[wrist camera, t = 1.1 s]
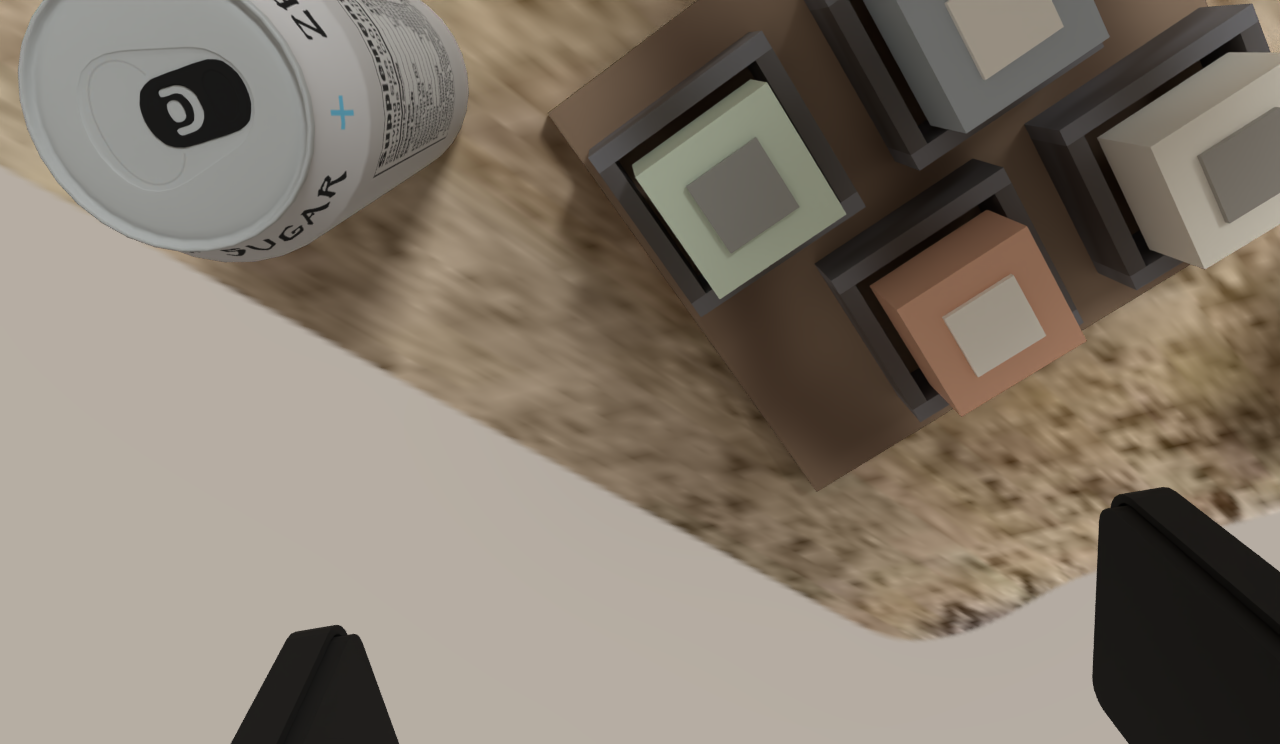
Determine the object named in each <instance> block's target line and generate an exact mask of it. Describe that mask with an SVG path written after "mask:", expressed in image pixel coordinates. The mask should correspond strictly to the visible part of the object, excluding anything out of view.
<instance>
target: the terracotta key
mask: <svg viewBox="0 0 1280 744" xmlns="http://www.w3.org/2000/svg"><path fill="white" fill-rule="evenodd" d="M870 288H871V289H872V291H873V293H874V294H875V296H876V298H877V299H878V301H879V302H880V304H881V306H882V307H883V309H884V311H885V312H886V314H887V315H888V317H889V319H890V320H891V322H892V324H893V325H894V327H895V328H896V330H897V332H898V333H899V335H900V337H901V338H902V340H903V342H904V343H905V345H906V346H907V348H908V350H909V351H910V353H911V355H912V356H913V358H914V359H915V361H916V363H917V364H918V366H919V368H920V369H921V371H922V372H923V374H924V376H925V377H926V379H927V381H928V382H929V384H930V385H931V386H932V387H933V388H934V389H935V390H936V391H937V392H938V393H939V394H940V395H941V396H942V397H943V398H944V399H945V401H946V402H947V403H948V404H949V405H950V406H951V407H952V408H953V409H954V410H955V411H956V412H957V413H958V414H959V415H960V416H961V417H962V416H964V415H965V414H967V413H969V412H970V411H972V410H974V409H975V408H977V407H979V406H980V405H982V404H983V403H985V402H987V401H988V400H990V399H992V398H993V397H995V396H997V395H998V394H1000V393H1002V392H1003V391H1005V390H1007V389H1008V388H1010V387H1012V386H1013V385H1015V384H1017V383H1018V382H1020V381H1021V380H1023V379H1025V378H1026V377H1028V376H1030V375H1031V374H1033V373H1035V372H1036V371H1038V370H1040V369H1041V368H1043V367H1045V366H1046V365H1048V364H1050V363H1051V362H1053V361H1054V360H1056V359H1058V358H1059V357H1061V356H1063V355H1064V354H1066V353H1068V352H1069V351H1071V350H1073V349H1074V348H1076V347H1078V346H1079V345H1081V344H1083V343H1084V342H1086V341H1087V340H1086V338H1085V336H1084V334H1083V332H1082V331H1081V329H1080V327H1079V325H1078V323H1077V321H1076V319H1075V317H1074V315H1073V313H1072V311H1071V309H1070V308H1069V306H1068V304H1067V302H1066V300H1065V298H1064V296H1063V294H1062V292H1061V290H1060V288H1059V286H1058V284H1057V283H1056V281H1055V279H1054V277H1053V275H1052V273H1051V271H1050V269H1049V267H1048V265H1047V263H1046V261H1045V260H1044V258H1043V256H1042V254H1041V252H1040V250H1039V248H1038V246H1037V244H1036V242H1035V240H1034V238H1033V237H1032V235H1031V233H1030V231H1029V229H1028V227H1027V226H1025V225H1023V224H1021V223H1018V222H1016V221H1013V220H1011V219H1009V218H1006V217H1004V216H1001V215H999V214H997V213H994V212H992V211H989V210H985V211H984V212H982V213H981V214H979V215H978V216H976V217H975V218H973V219H971V220H970V221H968V222H967V223H965V224H964V225H962V226H961V227H959V228H958V229H956V230H955V231H953V232H951V233H950V234H948V235H947V236H945V237H944V238H942V239H941V240H939V241H938V242H936V243H935V244H933V245H932V246H930V247H928V248H927V249H925V250H924V251H922V252H921V253H919V254H918V255H916V256H915V257H913V258H912V259H910V260H908V261H907V262H905V263H904V264H902V265H901V266H899V267H898V268H896V269H895V270H893V271H892V272H890V273H889V274H887V275H885V276H884V277H882V278H881V279H879V280H878V281H876V282H875V283H873V284H872V285H870Z"/></svg>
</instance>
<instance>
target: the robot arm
mask: <svg viewBox="0 0 1280 744" xmlns="http://www.w3.org/2000/svg"><path fill="white" fill-rule="evenodd" d="M1092 678H1093V686H1094V691H1095V693H1096V696H1097V698H1098V701H1099V703H1100V705H1101V707H1102V708H1103V710H1104V711H1105V713H1106V714H1107V716H1108V717H1109V718H1110V719H1111V721H1112V722H1113V724H1114V725H1115V726H1116V727H1117V729H1118V730H1119V731H1120V733H1121V734H1122V735H1123V737H1124V738H1125V739H1126V741H1127V742H1128V743H1129V744H1280V572H1279V571H1278V570H1277V569H1275V568H1274V567H1273V566H1272V565H1270V564H1269V563H1268V562H1266V561H1265V560H1264V559H1263V558H1261V557H1260V556H1259V555H1257V554H1256V553H1255V552H1253V551H1252V550H1251V549H1250V548H1248V547H1247V546H1246V545H1244V544H1243V543H1242V542H1240V541H1239V540H1238V539H1237V538H1235V537H1234V536H1233V535H1231V534H1230V533H1229V532H1227V531H1226V530H1225V529H1224V528H1222V527H1221V526H1220V525H1219V524H1217V523H1216V522H1215V521H1213V520H1212V519H1211V518H1209V517H1208V516H1207V515H1206V514H1204V513H1203V512H1202V511H1200V510H1199V509H1198V508H1197V507H1195V506H1194V505H1193V504H1191V503H1190V502H1189V501H1187V500H1186V499H1185V498H1184V497H1182V496H1181V495H1180V494H1178V493H1177V492H1176V491H1174V490H1172V489H1170V488H1166V487H1161V488H1155V489H1149V490H1143V491H1137V492H1131V493H1125V494H1119V495H1117V496H1116V497H1114V499H1113V501H1112V503H1111V508H1108V509H1105V510H1103V511H1102V512H1101V514H1100V519H1099V536H1098V559H1097V582H1096V605H1095V629H1094V652H1093V675H1092ZM231 744H399V742H398V739H397V737H396V734H395V731H394V728H393V726H392V723H391V720H390V718H389V715H388V712H387V709H386V706H385V704H384V701H383V698H382V695H381V693H380V690H379V687H378V685H377V682H376V679H375V676H374V673H373V671H372V668H371V665H370V662H369V660H368V657H367V654H366V651H365V648H364V646H363V643H362V641H361V639H360V637H359V636H358V635H356V634H351V635H347V633H346V631H345V630H344V629H343V627H341V626H339V625H333V626H327V627H321V628H315V629H310V630H304V631H298V632H294V633H292V634H291V635H290V636H289V637H288V638H287V640H286V642H285V644H284V645H283V648H282V649H281V651H280V653H279V655H278V657H277V659H276V660H275V662H274V664H273V666H272V668H271V670H270V671H269V674H268V675H267V677H266V679H265V681H264V683H263V685H262V686H261V688H260V690H259V692H258V694H257V696H256V698H255V699H254V701H253V703H252V705H251V707H250V709H249V711H248V713H247V714H246V716H245V718H244V720H243V722H242V724H241V726H240V728H239V729H238V731H237V733H236V735H235V737H234V739H233V741H232V743H231Z"/></svg>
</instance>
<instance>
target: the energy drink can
mask: <svg viewBox="0 0 1280 744" xmlns="http://www.w3.org/2000/svg"><path fill="white" fill-rule="evenodd" d="M18 80H19V95H20V103H21V107H22V110H23V114H24V118H25V122H26V126H27V129H28V131H29V134H30V136H31V138H32V140H33V142H34V145H35V147H36V149H37V151H38V153H39V155H40V157H41V159H42V160H43V162H44V163H45V165H46V166H47V168H48V169H49V171H50V172H51V174H52V175H53V176H54V178H55V179H56V181H57V182H58V183H59V184H60V186H61V187H62V188H63V189H64V190H65V191H66V192H67V193H68V194H69V195H70V196H71V197H72V198H73V199H74V200H75V202H76V203H77V204H78V205H80V206H81V207H82V208H83V209H85V210H86V211H87V212H89V213H90V214H91V215H92V216H94V217H95V218H96V219H98V220H99V221H100V222H101V223H103V224H105V225H106V226H108V227H110V228H112V229H114V230H115V231H117V232H119V233H121V234H123V235H125V236H126V237H128V238H131V239H134V240H136V241H139V242H142V243H145V244H148V245H151V246H153V247H157V248H163V249H169V250H175V251H179V252H182V253H185V254H188V255H191V256H193V257H198V258H204V259H210V260H215V261H221V262H255V261H260V260H265V259H270V258H274V257H279V256H283V255H285V254H288V253H290V252H292V251H294V250H297V249H299V248H301V247H303V246H306V245H308V244H309V243H311V242H312V241H314V240H315V239H317V238H318V237H320V236H321V235H323V234H325V233H326V232H328V231H329V230H331V229H332V228H334V227H335V226H337V225H338V224H340V223H341V222H343V221H344V220H346V219H347V218H349V217H350V216H352V215H353V214H355V213H356V212H358V211H359V210H361V209H362V208H364V207H365V206H367V205H368V204H370V203H371V202H373V201H375V200H376V199H378V198H379V197H381V196H382V195H384V194H385V193H387V192H388V191H390V190H391V189H393V188H394V187H396V186H397V185H399V184H400V183H402V182H403V181H405V180H406V179H408V178H409V177H411V176H412V175H414V174H415V173H417V172H418V171H420V170H421V169H423V168H424V167H426V166H428V165H429V164H430V163H432V162H433V161H434V160H436V159H437V158H438V157H440V156H441V155H442V154H443V153H444V152H445V151H446V149H447V148H448V147H449V146H450V145H451V144H452V143H453V141H454V139H455V137H456V136H457V134H458V132H459V130H460V129H461V126H462V123H463V120H464V117H465V114H466V111H467V103H468V94H469V89H468V76H467V70H466V66H465V63H464V59H463V55H462V53H461V50H460V48H459V46H458V44H457V42H456V40H455V38H454V36H453V34H452V33H451V32H450V30H449V29H448V27H447V26H446V24H445V23H444V22H443V20H442V19H441V18H440V17H439V16H438V15H437V14H436V13H435V12H434V11H433V10H432V9H431V8H430V7H429V6H428V5H426V4H425V3H423V2H422V1H420V0H43V1H42V3H41V4H40V6H39V7H38V9H37V10H36V11H35V13H34V14H33V16H32V18H31V20H30V23H29V26H28V28H27V31H26V33H25V36H24V39H23V41H22V45H21V52H20V59H19V67H18Z"/></svg>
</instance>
